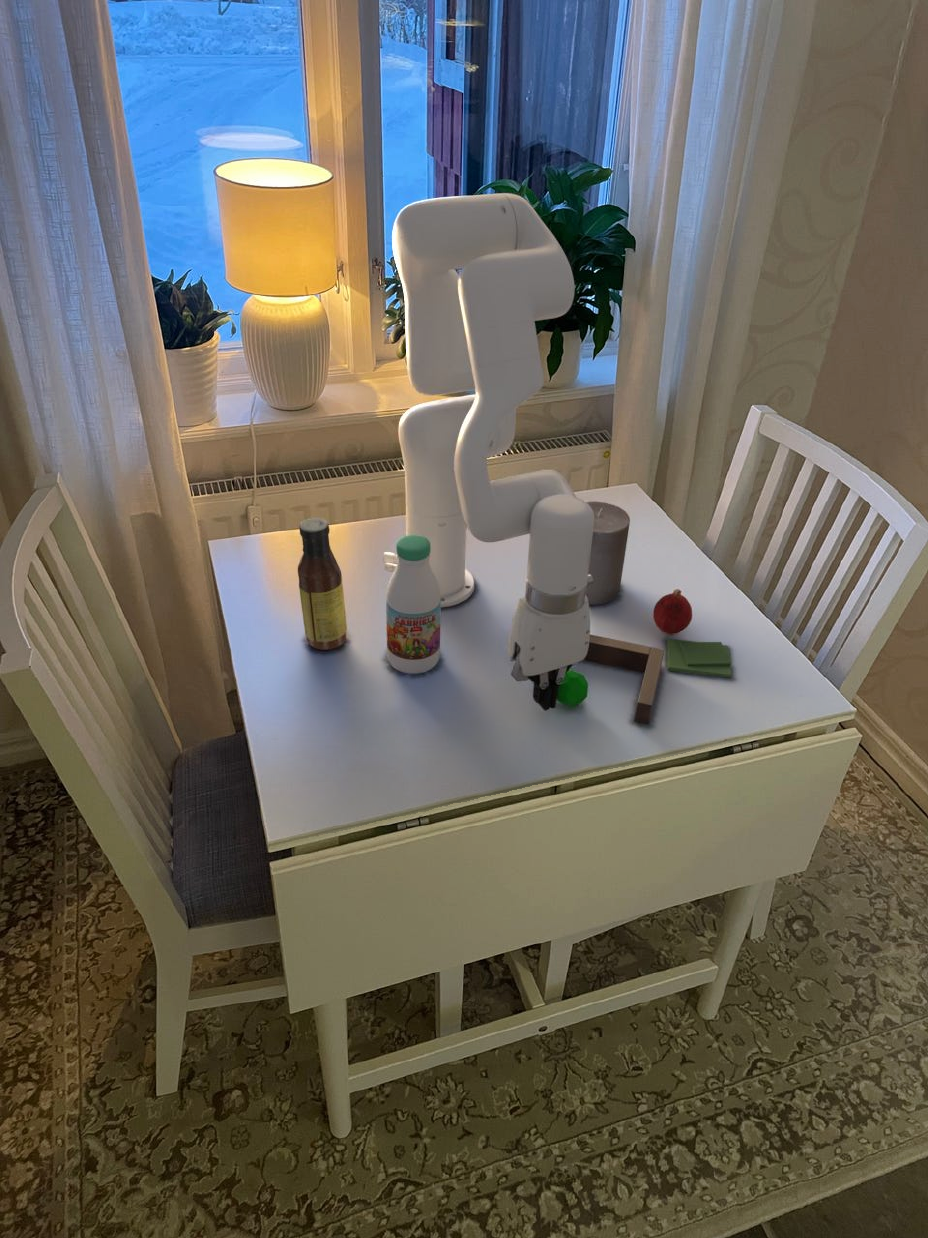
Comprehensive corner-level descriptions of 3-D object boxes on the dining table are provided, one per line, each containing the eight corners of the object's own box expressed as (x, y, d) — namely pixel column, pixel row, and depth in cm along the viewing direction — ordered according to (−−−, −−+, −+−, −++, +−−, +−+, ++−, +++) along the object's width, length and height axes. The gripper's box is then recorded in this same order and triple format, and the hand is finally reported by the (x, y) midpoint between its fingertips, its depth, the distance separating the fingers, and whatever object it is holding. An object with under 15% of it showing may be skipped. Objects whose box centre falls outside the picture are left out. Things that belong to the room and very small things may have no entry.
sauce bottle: (355, 634, 141) (349, 519, 130) (333, 657, 137) (325, 540, 125) (318, 622, 143) (309, 509, 132) (295, 644, 139) (284, 529, 127)
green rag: (668, 670, 136) (669, 664, 136) (667, 641, 142) (668, 635, 142) (730, 678, 135) (732, 672, 135) (727, 648, 141) (728, 642, 141)
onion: (687, 647, 141) (696, 604, 136) (649, 641, 142) (657, 598, 137) (687, 625, 146) (696, 582, 141) (650, 620, 147) (658, 577, 142)
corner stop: (520, 696, 131) (522, 677, 129) (541, 643, 141) (543, 624, 139) (648, 725, 127) (652, 705, 125) (661, 668, 137) (664, 649, 135)
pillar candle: (603, 568, 158) (614, 490, 149) (629, 600, 151) (642, 519, 142) (550, 577, 156) (558, 497, 147) (574, 610, 148) (584, 528, 139)
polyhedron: (552, 686, 132) (558, 659, 130) (586, 694, 132) (593, 667, 129) (547, 708, 128) (552, 680, 125) (582, 716, 127) (588, 689, 125)
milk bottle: (379, 649, 138) (376, 533, 127) (428, 638, 141) (429, 523, 129) (397, 680, 133) (396, 562, 121) (447, 668, 135) (451, 551, 124)
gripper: (588, 564, 122) (575, 673, 133) (488, 590, 117) (483, 702, 127) (621, 592, 117) (605, 704, 128) (518, 622, 111) (510, 736, 122)
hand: (544, 703), depth 127 cm, fingers closed
